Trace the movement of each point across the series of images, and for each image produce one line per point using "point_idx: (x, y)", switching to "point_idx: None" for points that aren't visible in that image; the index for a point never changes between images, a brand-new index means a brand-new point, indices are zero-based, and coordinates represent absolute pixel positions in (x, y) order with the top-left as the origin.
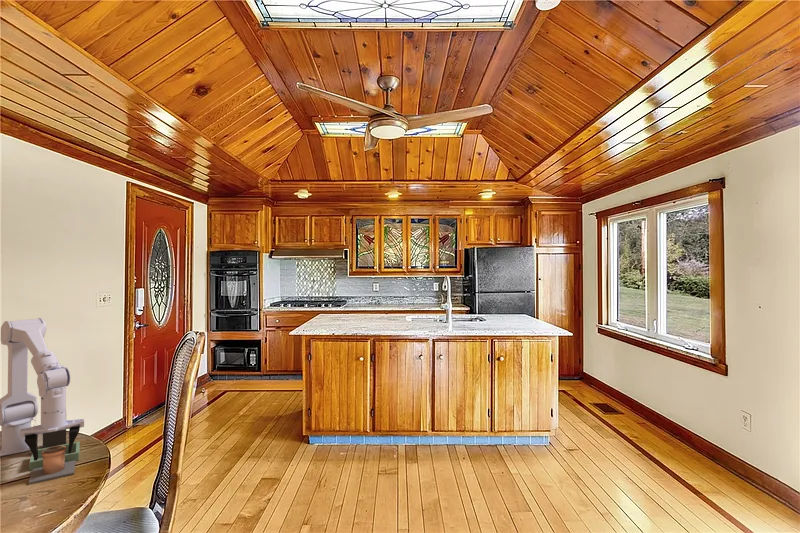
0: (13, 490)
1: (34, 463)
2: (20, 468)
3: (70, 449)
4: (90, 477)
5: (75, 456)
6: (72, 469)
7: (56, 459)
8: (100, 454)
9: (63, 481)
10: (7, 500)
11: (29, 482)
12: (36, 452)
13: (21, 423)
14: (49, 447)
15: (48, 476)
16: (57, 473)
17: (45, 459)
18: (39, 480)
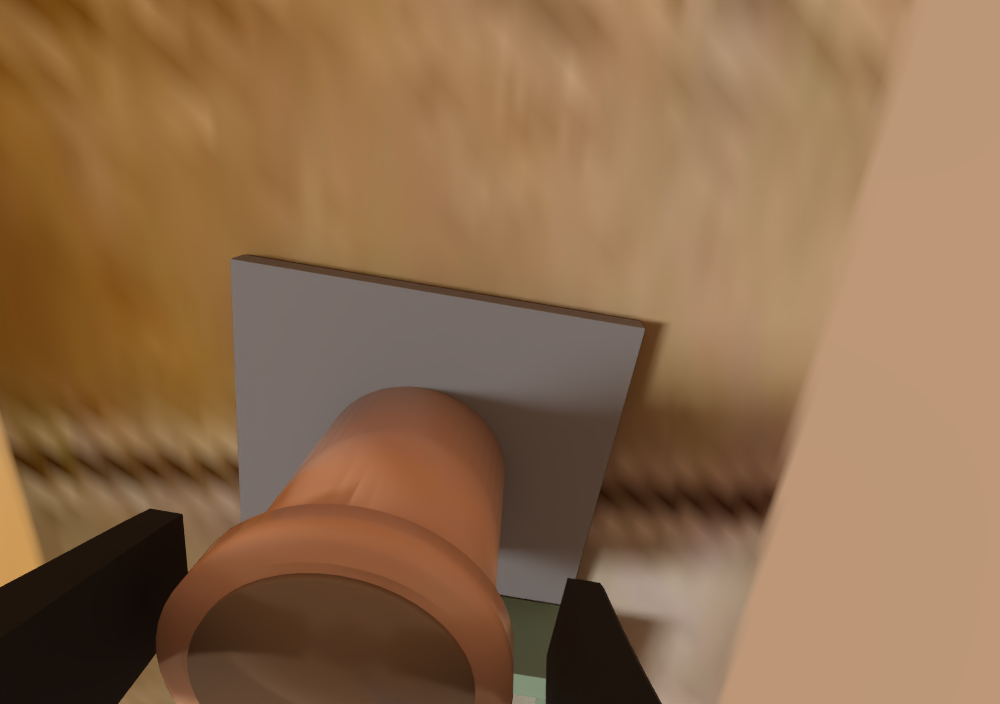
0: (775, 286)
1: None
2: None
3: (88, 548)
4: (57, 11)
5: None
6: (251, 352)
7: (341, 477)
8: (61, 551)
9: (338, 136)
10: (894, 34)
11: (637, 328)
12: (596, 700)
13: None
14: None
15: (466, 346)
16: (385, 358)
17: (468, 541)
18: (550, 310)
